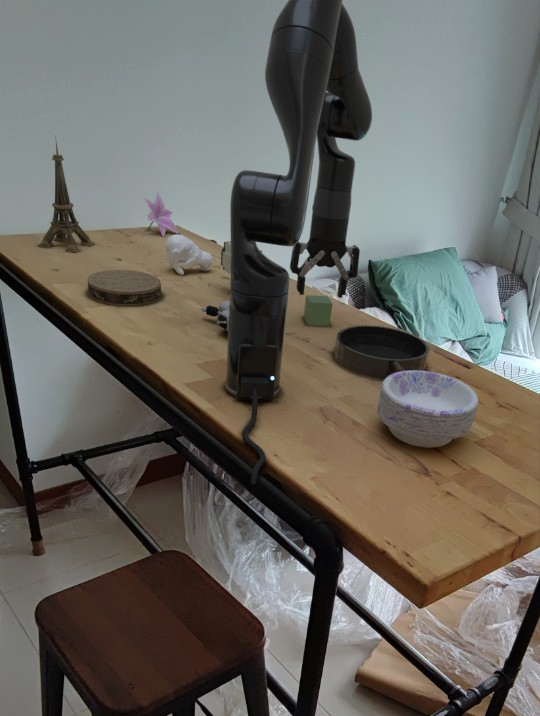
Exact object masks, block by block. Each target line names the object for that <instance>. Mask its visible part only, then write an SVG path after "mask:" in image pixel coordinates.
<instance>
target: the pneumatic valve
mask: <svg viewBox="0 0 540 716" xmlns="http://www.w3.org/2000/svg"><path fill="white" fill-rule="evenodd" d="M259 250H260V251H261V252H262V253H263V250H261V249H259ZM230 256H231V240H230V241H223V247H222V249H221V252H220V266H222V270H223V271H224V272H226V273H227V274H230V275H231V271H230Z"/></svg>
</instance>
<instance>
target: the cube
mask: <svg viewBox="0 0 540 716" xmlns="http://www.w3.org/2000/svg"><path fill="white" fill-rule="evenodd" d="M332 311H333V302H332V300H331V298H330V297H329V296H328V295H311V294H310V295H309V294H306V295H305V301H304V311H303V320H304V321H305V323H306V325H312V326H313V325H314V326H330V325H331V318H332V317H331V316H332Z"/></svg>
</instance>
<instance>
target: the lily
mask: <svg viewBox="0 0 540 716" xmlns="http://www.w3.org/2000/svg"><path fill="white" fill-rule="evenodd" d="M143 199H144V201H145V204H146V205H147V206H148V208H149V210H150V211H149V213H148V214H147V217H146V219H147V220H148V221H149V222H151V223H150V224H149V226H148V228H147V231H149V230H150V228H151V227H152V225H153V224H154V223H155V224H157V227H158V229H159V231H160V233H161V236H162V237H165V234H166V230H167V229H168V230H170V231H172V232H174V233H175V234H176V235H179V231H178V229H177V227H176V225H175V223H174V222H173V220H172V219H171V218H172V216H173V211H171V210H170V209H167V208H166V207H165V203H164V200H163V198H162V196H161V194H160V193H159V192H158V191H157V192H156V195H155V199H154V202H152V201H151V200H150V199H147V198H145V197H144V198H143Z"/></svg>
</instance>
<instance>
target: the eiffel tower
mask: <svg viewBox="0 0 540 716" xmlns="http://www.w3.org/2000/svg"><path fill="white" fill-rule="evenodd" d="M54 136H55V137H54V138H55V139H57V135H54ZM58 148H59V147H58V143H57V141H55V154H54V153H53V154H52V157H51V160H52V161H54V202H52V204H51V207H53V216H52V221H49V224H50V226H49V228H48V230H47V231H46V233H45V235H44V236H43V238H42V240H41V243H40V244H38V245H37V247H40V248H46V249H49V248H52V247H53V246H54V243H53V241H57V242H61V243H63V242H67V243H66V249H65V252H68V253H74V254H77V253H78V252H81V248H80V247H79V245H78V244H77V241H76V240H75V238H74V236H73V233H74V234H75V235H76V236H77V237H78V239H79V240H80V243H79V244H80V245H81V246H86V247H92V246H94V245H96V243H95V242H93V241H91V238H90V236H89V235H88V234H87V233H86V232H85V230H84V229H83V228H82V227H81V226H80V225H79V224H80V223H79V222H80V221H77V218H76V217H75V213H74V210H73V208H74V204H73V202H71V201H70V195H69V190H68V186H67V182H66V177H65V173H64V167H63V163H62V162H63V161H64V160H65V158H64V157H63V154H59V149H58Z"/></svg>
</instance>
